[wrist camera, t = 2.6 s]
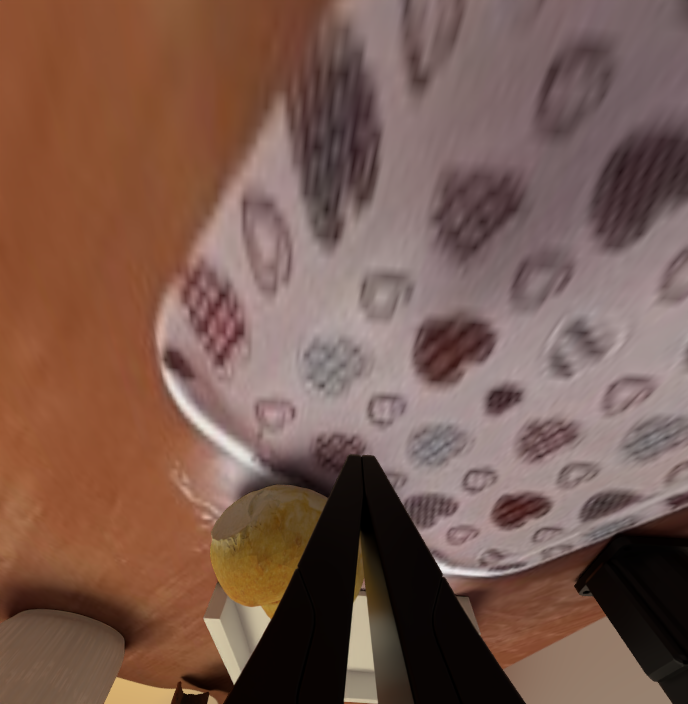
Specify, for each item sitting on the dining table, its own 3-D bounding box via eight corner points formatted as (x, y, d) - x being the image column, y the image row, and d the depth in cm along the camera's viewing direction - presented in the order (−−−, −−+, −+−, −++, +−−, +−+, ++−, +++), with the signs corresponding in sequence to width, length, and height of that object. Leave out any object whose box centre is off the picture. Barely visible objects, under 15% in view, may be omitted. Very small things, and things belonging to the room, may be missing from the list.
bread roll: (297, 579, 18) (280, 665, 14) (206, 509, 15) (157, 592, 12) (395, 547, 16) (404, 640, 12) (306, 458, 13) (284, 542, 9)
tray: (468, 596, 19) (480, 633, 18) (426, 675, 27) (432, 706, 25) (217, 582, 20) (203, 618, 18) (246, 664, 27) (238, 695, 25)
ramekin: (76, 593, 21) (-40, 743, 15) (165, 651, 26) (107, 781, 20) (-34, 608, 23) (-177, 746, 17) (69, 660, 28) (-11, 779, 22)
